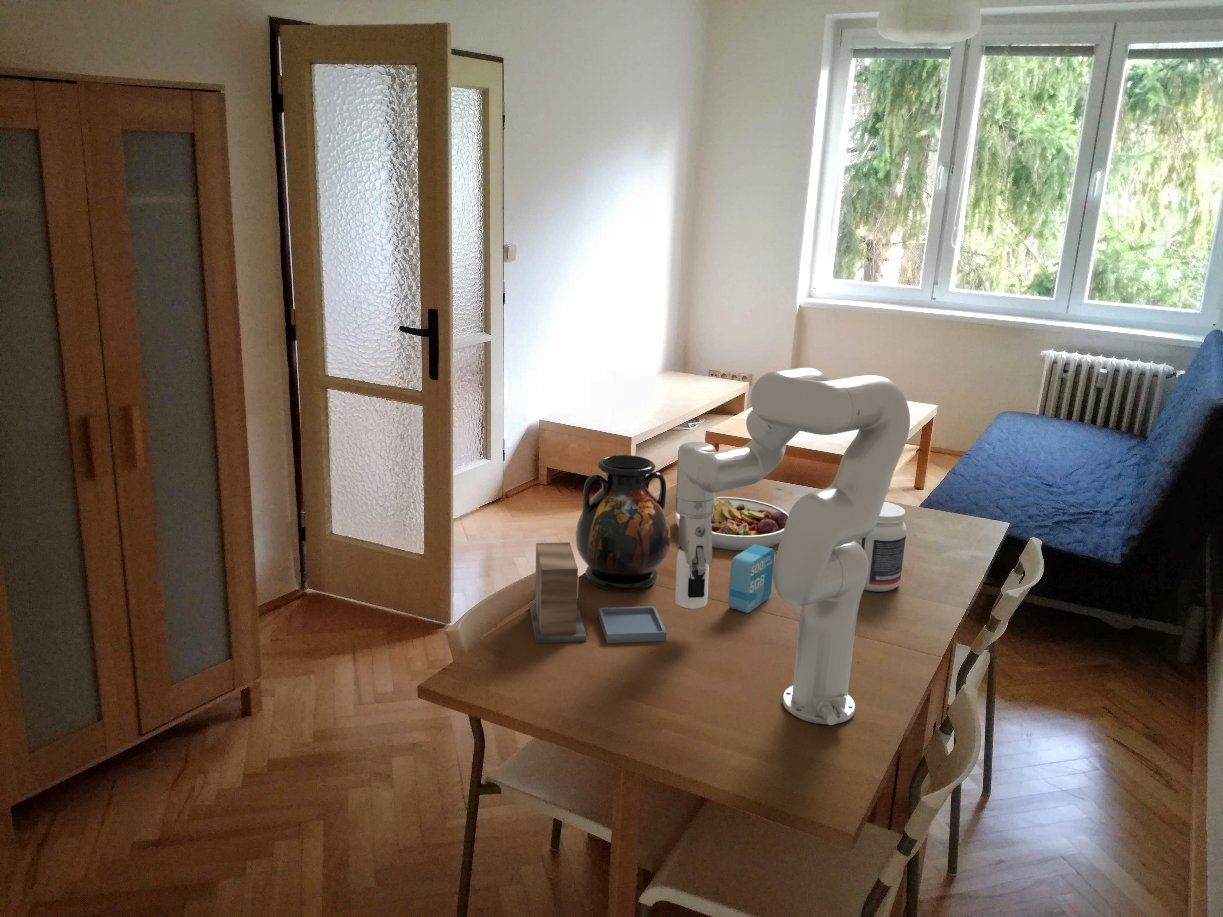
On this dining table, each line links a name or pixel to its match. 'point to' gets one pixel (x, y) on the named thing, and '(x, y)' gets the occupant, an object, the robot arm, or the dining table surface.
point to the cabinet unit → (556, 595)
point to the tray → (632, 624)
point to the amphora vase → (623, 525)
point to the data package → (751, 578)
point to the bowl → (745, 523)
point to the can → (682, 584)
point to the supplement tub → (885, 549)
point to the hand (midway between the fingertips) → (691, 589)
